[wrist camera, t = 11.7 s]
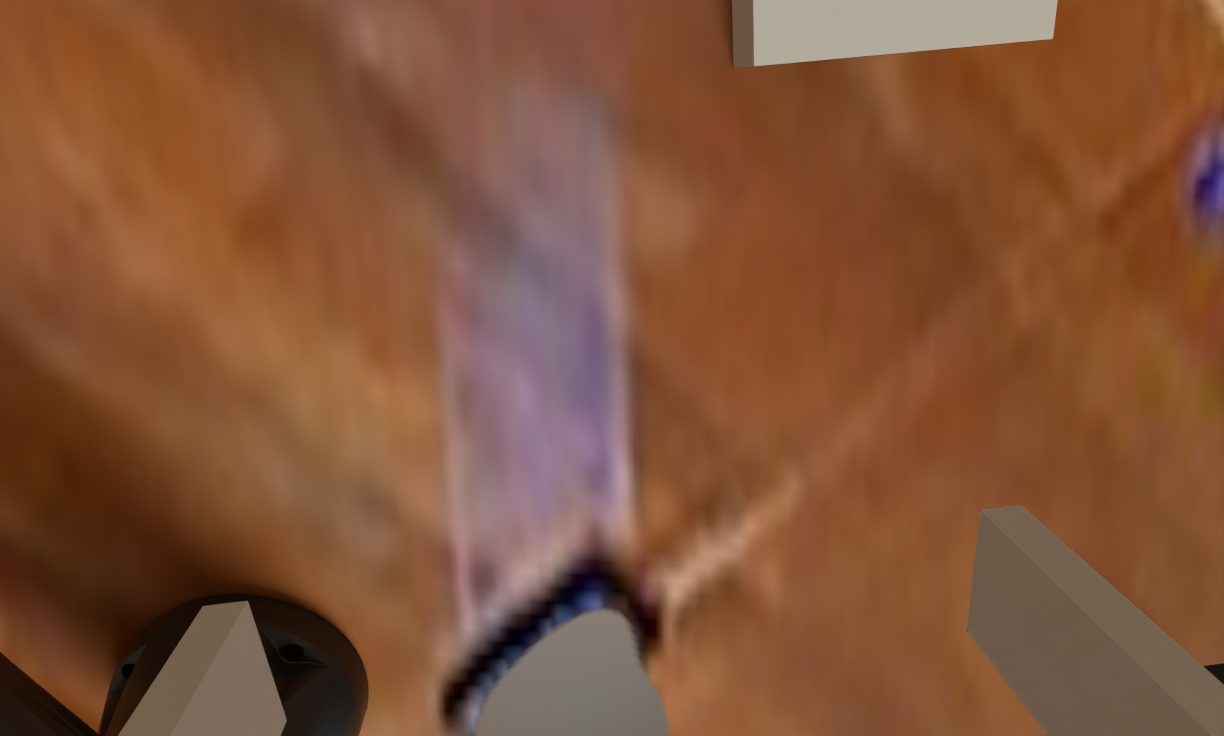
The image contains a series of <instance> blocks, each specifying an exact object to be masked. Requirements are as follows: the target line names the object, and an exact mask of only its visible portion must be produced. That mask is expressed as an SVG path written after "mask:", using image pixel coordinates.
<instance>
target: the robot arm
mask: <svg viewBox="0 0 1224 736" xmlns="http://www.w3.org/2000/svg"><path fill="white" fill-rule="evenodd" d="M967 632H968V633H969V634H970V635H971V637H972V638H973V639H974V641H975V642H976V643H977V645H978V646H979V647H980V648H981V650H982V651H983V652H984V654H985V655H986V656H987V658H988V659H989V660H990V661H991V663H992V664H993V665H994V667H995V668H996V669H997V671H998V672H999V673H1000V674H1001V676H1002V677H1003V678H1004V680H1005V681H1006V682H1007V683H1008V685H1009V686H1010V687H1011V689H1012V690H1013V691H1014V693H1015V694H1016V695H1017V696H1018V698H1019V699H1020V700H1021V702H1022V703H1023V704H1024V706H1025V707H1026V708H1027V709H1028V711H1029V712H1030V713H1031V715H1032V716H1033V717H1034V719H1035V720H1036V721H1037V722H1038V724H1039V725H1040V726H1041V728H1042V729H1043V730H1044V732H1045V733H1046V734H1047V735H1048V736H1224V663H1223V664H1216V665H1209V666H1202V665H1201V664H1200V663H1199V662H1198V661H1197V660H1195V659H1194V658H1193V657H1192V656H1191V655H1190V654H1189V653H1188V652H1186V651H1185V650H1184V649H1183V648H1182V647H1181V646H1180V645H1179V644H1177V643H1176V642H1175V641H1174V640H1173V639H1172V638H1171V637H1169V636H1168V635H1167V634H1166V633H1165V632H1164V631H1163V630H1162V629H1160V628H1159V627H1158V626H1157V625H1156V624H1155V623H1154V622H1153V621H1151V620H1150V619H1149V618H1148V617H1147V616H1146V615H1145V614H1144V613H1142V612H1141V611H1140V610H1139V609H1138V608H1137V607H1136V606H1135V605H1133V604H1132V603H1131V602H1130V601H1129V600H1128V599H1127V598H1125V597H1124V596H1123V595H1122V594H1121V593H1120V592H1119V591H1118V590H1116V589H1115V588H1114V587H1113V586H1112V585H1111V584H1110V583H1109V582H1107V581H1106V580H1105V579H1104V578H1103V577H1102V576H1101V575H1100V574H1098V573H1097V572H1096V571H1095V570H1094V569H1093V568H1092V567H1090V566H1089V565H1088V564H1087V563H1086V562H1085V561H1084V560H1083V559H1081V558H1080V557H1079V556H1078V555H1077V554H1076V553H1075V552H1074V551H1072V550H1071V549H1070V548H1069V547H1068V546H1067V545H1066V544H1065V543H1063V542H1062V541H1061V540H1060V539H1059V538H1058V537H1057V536H1055V535H1054V534H1053V533H1052V532H1051V531H1050V530H1049V529H1048V528H1046V527H1045V526H1044V525H1043V524H1042V523H1041V522H1040V521H1039V520H1037V519H1036V518H1035V517H1034V516H1033V515H1032V514H1031V513H1030V512H1028V511H1027V510H1026V509H1025V508H1024V507H1023V506H1022V505H1016V506H1008V507H1000V508H992V509H984V510H980V517H979V526H978V535H977V544H976V553H975V562H974V571H973V580H972V589H971V598H970V607H969V616H968V625H967ZM367 704H368V682H367V677H366V674H365V670H364V668H363V665H362V663H361V661H360V659H359V657H358V655H357V654H356V652H355V651H354V649H353V648H352V647H351V645H350V644H349V643H348V642H347V640H346V639H345V638H344V637H343V636H342V635H341V634H340V633H339V632H338V631H337V630H335V629H334V628H333V627H332V626H330V625H329V624H328V623H326V622H325V621H323V620H322V619H320V618H319V617H317V616H315V615H313V614H312V613H310V612H308V611H306V610H304V609H301V608H299V607H296V606H294V605H291V604H288V603H285V602H282V601H278V600H274V599H270V598H265V597H258V596H248V595H224V596H214V597H208V598H203V599H199V600H195V601H192V602H189V603H186V604H183V605H181V606H178V607H176V608H174V609H172V610H170V611H168V612H166V613H165V614H163V615H162V616H160V617H159V618H157V619H156V620H155V621H154V622H152V623H151V624H150V625H149V626H148V627H147V628H146V629H145V630H144V631H143V632H142V634H141V635H140V636H139V637H138V639H137V640H136V641H135V643H134V644H133V646H132V647H131V648H130V650H129V651H128V652H127V654H126V655H125V657H124V658H123V659H122V661H121V662H120V664H119V666H118V668H117V670H116V672H115V674H114V676H113V678H112V681H111V684H110V687H109V691H108V695H107V699H106V703H105V707H104V711H103V714H102V718H101V722H100V726H99V730H98V733H96V732H95V731H94V730H93V729H92V728H90V727H89V726H88V725H87V724H86V723H84V722H83V721H82V720H81V719H80V718H78V717H77V716H76V715H75V714H74V713H72V712H71V711H70V710H69V709H68V708H66V707H65V706H64V705H63V704H62V703H60V702H59V701H58V700H57V699H56V698H54V697H53V696H52V695H51V694H50V693H48V692H47V691H46V690H45V689H44V688H42V687H41V686H40V685H39V684H37V683H36V682H35V681H34V680H33V679H31V678H30V677H29V676H28V675H27V674H25V673H24V672H23V671H22V670H21V669H19V668H18V667H17V666H16V665H15V664H13V663H12V662H11V661H10V660H9V659H8V658H7V657H5V656H4V655H3V654H2V653H1V652H0V736H359V733H360V730H361V726H362V723H363V720H364V716H365V713H366V709H367Z"/></svg>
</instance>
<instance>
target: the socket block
mask: <svg viewBox="0 0 1224 736" xmlns="http://www.w3.org/2000/svg"><path fill="white" fill-rule="evenodd" d="M1056 8H1057V0H732V31H733V68H738V67H751V66H762V65H773V64H784V63H795V62H805V61H816V60H827V59H838V58H849V57H860V56H871V55H881V54H892V53H903V52H914V51H925V50H936V49H947V48H957V47H968V46H979V45H990V44H1001V43H1012V42H1022V41H1033V40H1044V39H1053V33H1054V25H1055V17H1056Z"/></svg>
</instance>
